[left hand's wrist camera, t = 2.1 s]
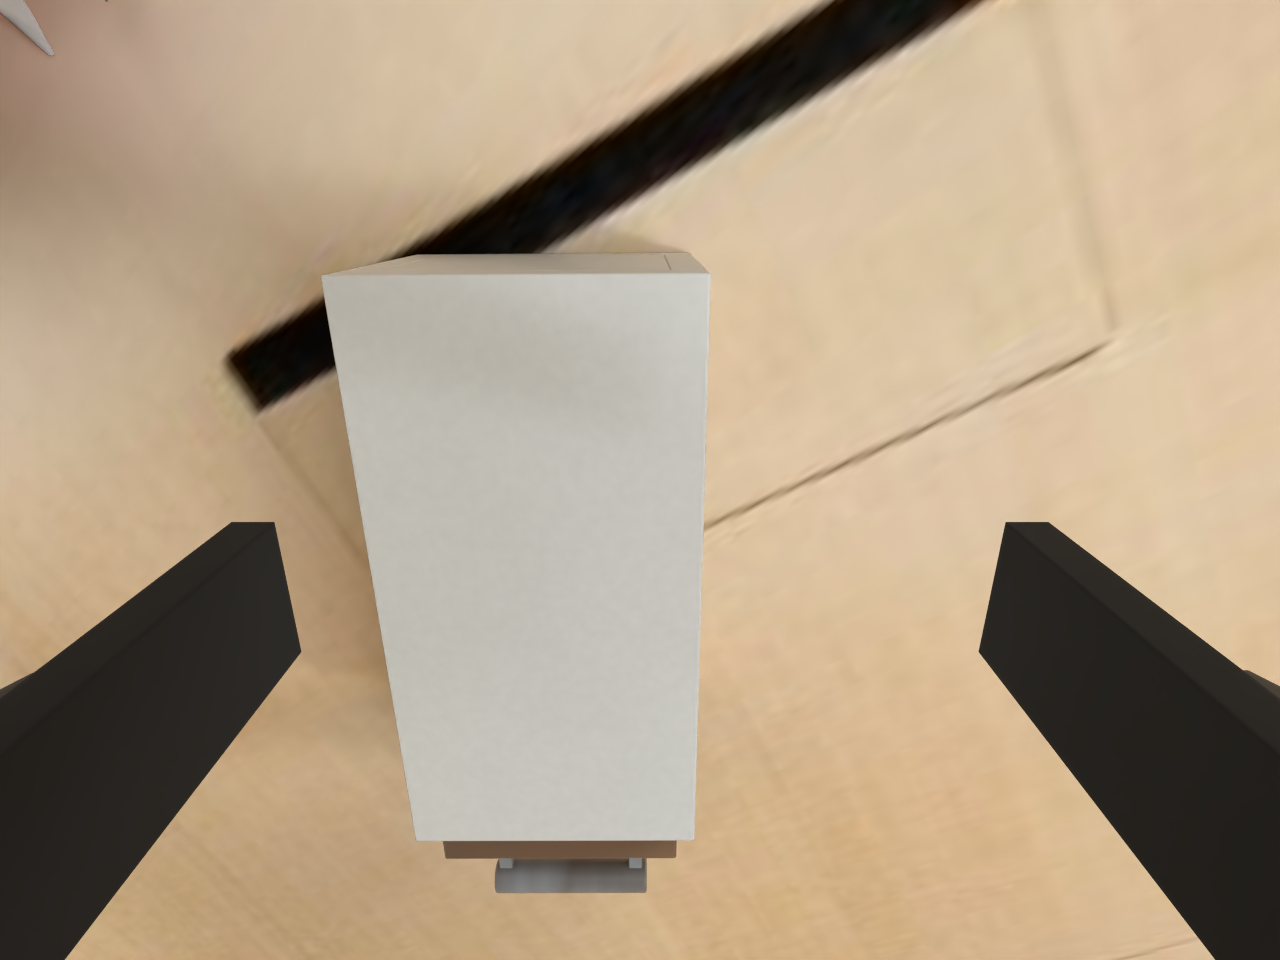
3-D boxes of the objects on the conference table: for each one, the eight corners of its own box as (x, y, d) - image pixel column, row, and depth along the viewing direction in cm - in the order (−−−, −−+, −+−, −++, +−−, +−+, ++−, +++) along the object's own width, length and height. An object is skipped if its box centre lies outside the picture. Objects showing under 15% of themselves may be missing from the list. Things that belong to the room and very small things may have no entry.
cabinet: (682, 692, 34) (694, 841, 26) (468, 693, 34) (415, 841, 26) (690, 252, 26) (711, 272, 18) (416, 254, 26) (319, 275, 18)
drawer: (669, 822, 35) (674, 947, 29) (489, 822, 35) (458, 948, 29) (674, 348, 26) (684, 390, 21) (435, 350, 27) (374, 392, 21)
